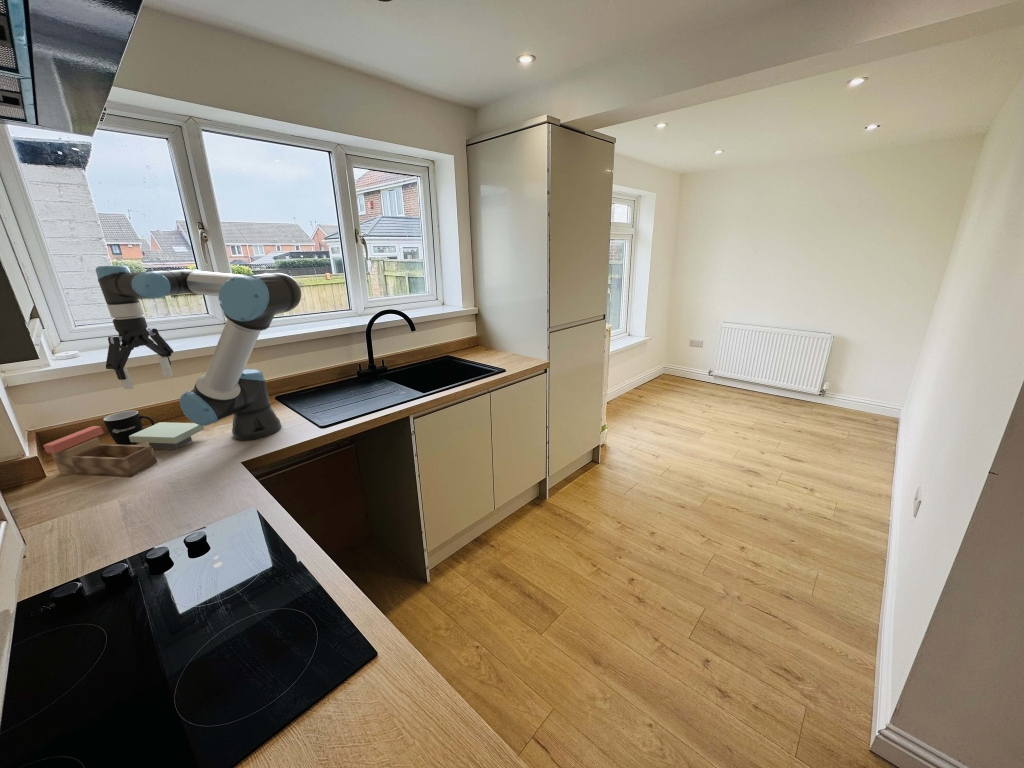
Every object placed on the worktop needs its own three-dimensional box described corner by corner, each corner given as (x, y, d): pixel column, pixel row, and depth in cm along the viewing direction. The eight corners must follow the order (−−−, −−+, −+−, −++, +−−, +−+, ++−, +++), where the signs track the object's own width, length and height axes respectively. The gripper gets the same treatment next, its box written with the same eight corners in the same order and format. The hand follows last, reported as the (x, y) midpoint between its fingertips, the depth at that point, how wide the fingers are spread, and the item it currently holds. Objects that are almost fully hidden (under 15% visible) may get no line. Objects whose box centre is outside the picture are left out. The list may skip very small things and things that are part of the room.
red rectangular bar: (103, 433, 128) (100, 426, 127) (55, 453, 115) (51, 445, 115) (95, 433, 128) (92, 425, 127) (46, 452, 116) (42, 445, 115)
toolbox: (157, 462, 126) (149, 439, 123) (130, 477, 118) (121, 452, 116) (91, 460, 129) (81, 437, 126) (60, 474, 121) (49, 449, 118)
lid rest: (192, 441, 140) (189, 431, 139) (177, 449, 135) (173, 439, 133) (166, 440, 141) (163, 431, 140) (150, 448, 136) (147, 438, 135)
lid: (204, 429, 141) (202, 423, 140) (176, 443, 131) (174, 437, 130) (161, 427, 143) (159, 422, 142) (130, 442, 133) (128, 436, 132)
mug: (111, 450, 135) (100, 423, 132) (115, 441, 142) (105, 414, 139) (157, 440, 142) (148, 413, 138) (159, 431, 149) (150, 406, 145)
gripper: (154, 311, 137) (173, 370, 144) (72, 324, 113) (98, 394, 120) (174, 310, 136) (192, 370, 143) (95, 324, 113) (121, 395, 120)
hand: (149, 381), depth 132 cm, fingers open, 13 cm apart
